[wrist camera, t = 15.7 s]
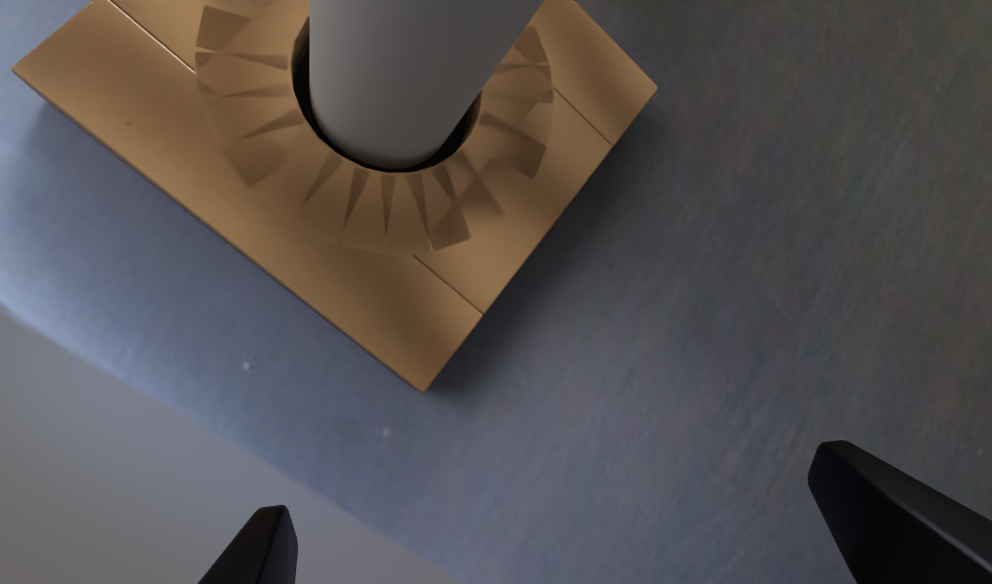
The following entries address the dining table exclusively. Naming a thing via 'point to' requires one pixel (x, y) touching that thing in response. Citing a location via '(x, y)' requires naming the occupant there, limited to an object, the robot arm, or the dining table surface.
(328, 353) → the dining table surface
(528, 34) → the coaster pad
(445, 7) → the beverage can
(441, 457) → the dining table surface
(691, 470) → the dining table surface
